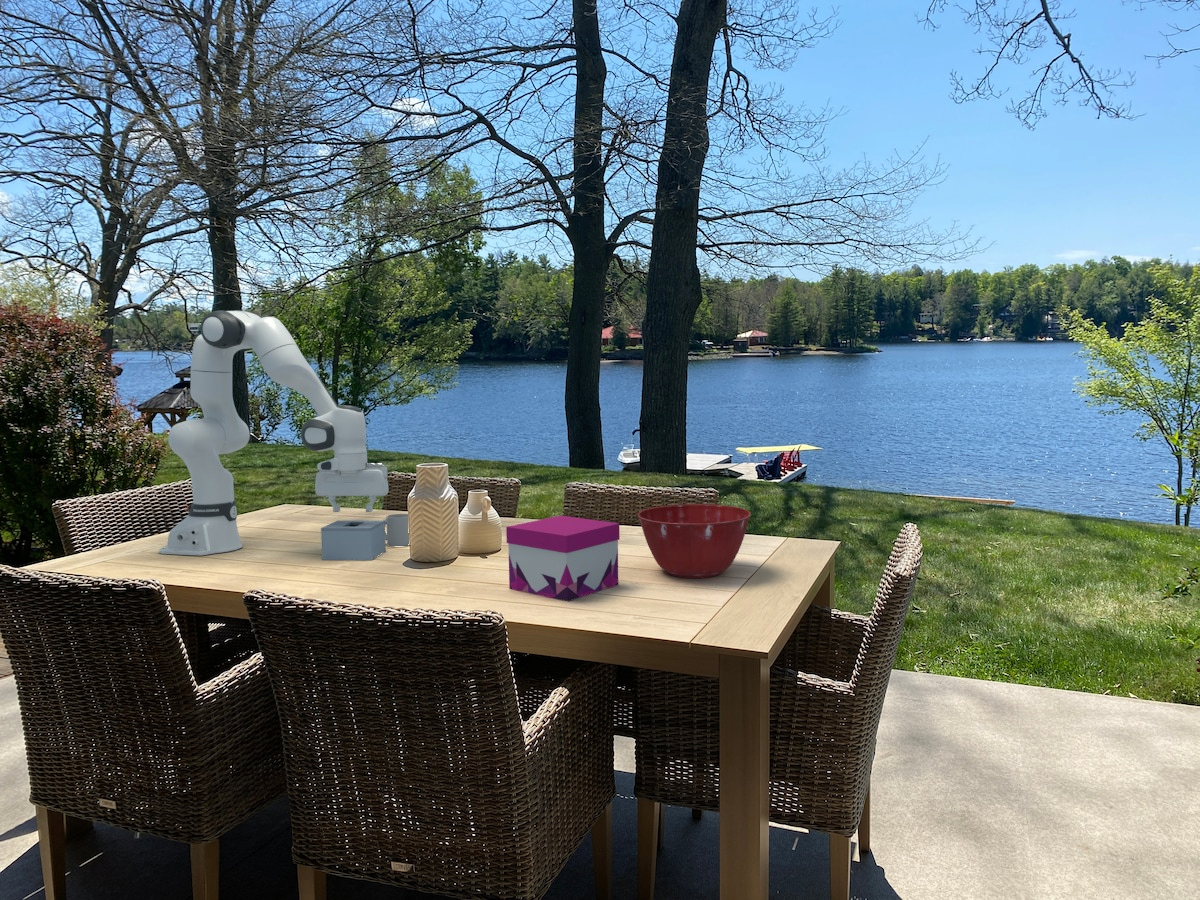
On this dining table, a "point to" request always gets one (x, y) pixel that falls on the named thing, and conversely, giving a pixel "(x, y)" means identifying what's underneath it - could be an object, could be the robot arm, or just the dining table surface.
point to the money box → (353, 540)
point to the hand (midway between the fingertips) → (352, 511)
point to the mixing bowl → (694, 537)
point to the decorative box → (563, 557)
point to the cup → (397, 530)
